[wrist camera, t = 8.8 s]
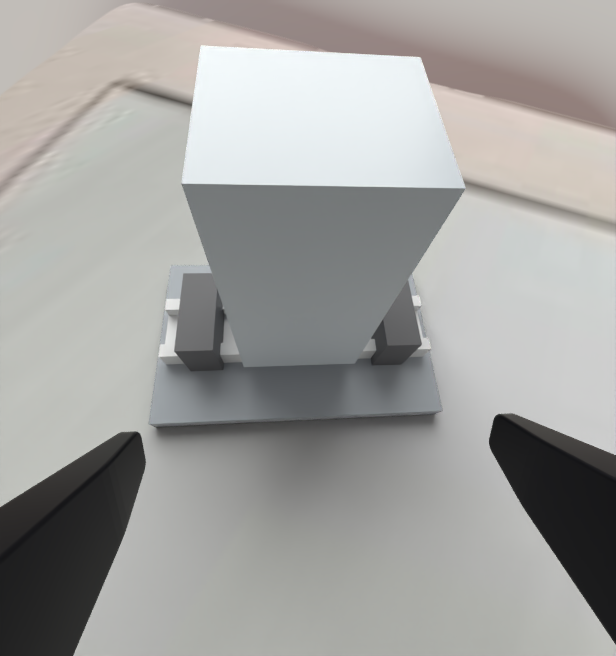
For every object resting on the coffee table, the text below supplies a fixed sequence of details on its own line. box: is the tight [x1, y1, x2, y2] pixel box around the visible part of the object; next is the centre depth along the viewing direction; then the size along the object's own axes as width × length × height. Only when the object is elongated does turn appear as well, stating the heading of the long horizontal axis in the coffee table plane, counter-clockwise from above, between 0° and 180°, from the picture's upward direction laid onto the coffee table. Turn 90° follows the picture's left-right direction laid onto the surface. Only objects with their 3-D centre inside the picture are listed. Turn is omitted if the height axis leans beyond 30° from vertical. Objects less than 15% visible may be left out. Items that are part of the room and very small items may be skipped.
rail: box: [149, 265, 442, 427], centre depth 19 cm, size 16×10×4 cm, turn 93°
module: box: [182, 46, 466, 367], centre depth 13 cm, size 6×6×12 cm
